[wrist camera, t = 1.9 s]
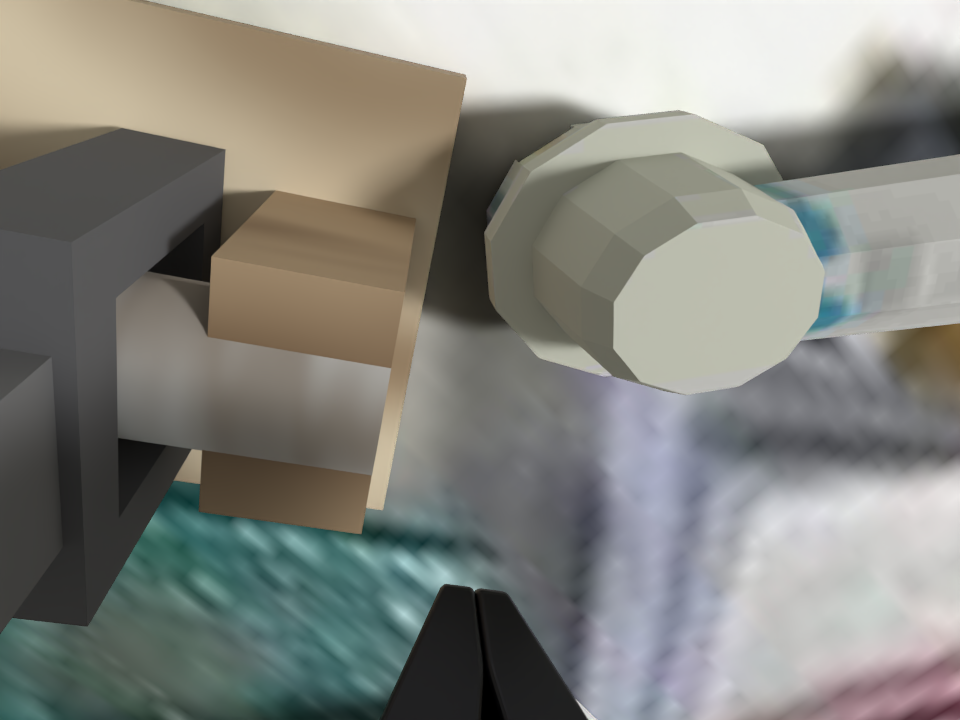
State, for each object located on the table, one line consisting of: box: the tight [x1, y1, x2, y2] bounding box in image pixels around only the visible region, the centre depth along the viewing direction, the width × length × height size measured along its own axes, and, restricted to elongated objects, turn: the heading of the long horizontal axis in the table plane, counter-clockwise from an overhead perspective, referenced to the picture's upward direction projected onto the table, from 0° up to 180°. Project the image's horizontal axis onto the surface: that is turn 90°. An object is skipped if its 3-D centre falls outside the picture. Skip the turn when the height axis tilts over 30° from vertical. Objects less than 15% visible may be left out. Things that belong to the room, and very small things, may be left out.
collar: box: [0, 128, 226, 634], centre depth 11 cm, size 6×2×10 cm, turn 167°
